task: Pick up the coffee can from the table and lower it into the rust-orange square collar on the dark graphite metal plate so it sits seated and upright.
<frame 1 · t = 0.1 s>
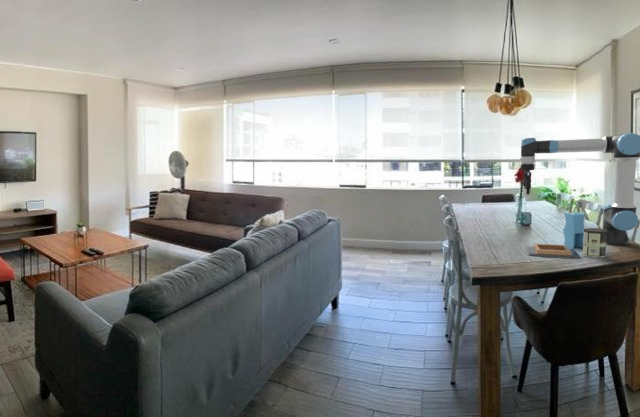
hand: (526, 198, 243), 28 cm above the table, tool pointing down, fingers open, 13 cm apart
coffee can: (593, 255, 214), on the table
open-sided blue scoop: (573, 247, 233), on the table
collar plate: (551, 253, 221), on the table
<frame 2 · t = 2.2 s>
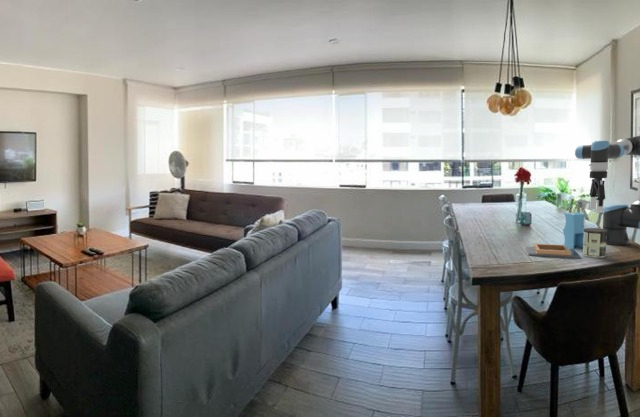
hand: (596, 210, 210), 24 cm above the table, tool pointing down, fingers open, 13 cm apart
nothing on the table moved.
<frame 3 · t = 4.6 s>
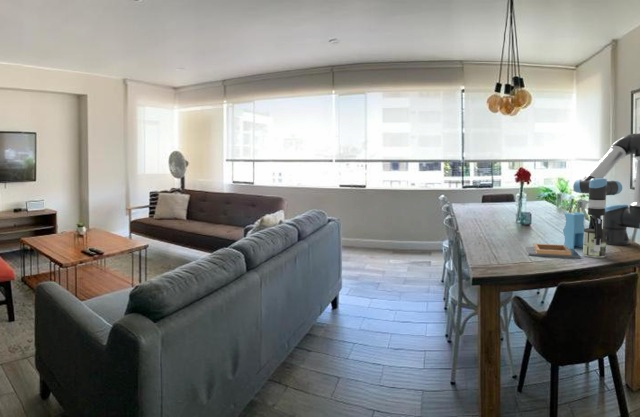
hand: (594, 248, 213), 4 cm above the table, tool pointing down, fingers closed on coffee can, 10 cm apart
coffee can: (593, 255, 214), on the table, touching gripper
everything else where it was.
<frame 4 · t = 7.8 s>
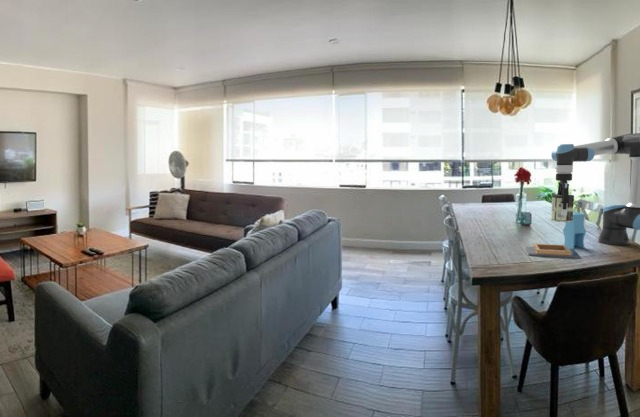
hand: (561, 213, 216), 22 cm above the table, tool pointing down, fingers closed on coffee can, 10 cm apart
coffee can: (561, 221, 217), point 18 cm above the table, touching gripper
everything else where it was.
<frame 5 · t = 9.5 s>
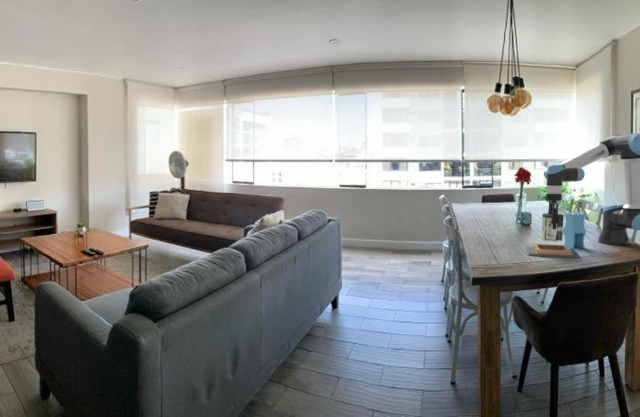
hand: (552, 233, 220), 11 cm above the table, tool pointing down, fingers closed on coffee can, 10 cm apart
coffee can: (551, 240, 220), point 7 cm above the table, touching gripper
everything else where it was.
when the fingers open (7 cm above the table, at t = 11.1 s): coffee can drops 2 cm, resting on collar plate.
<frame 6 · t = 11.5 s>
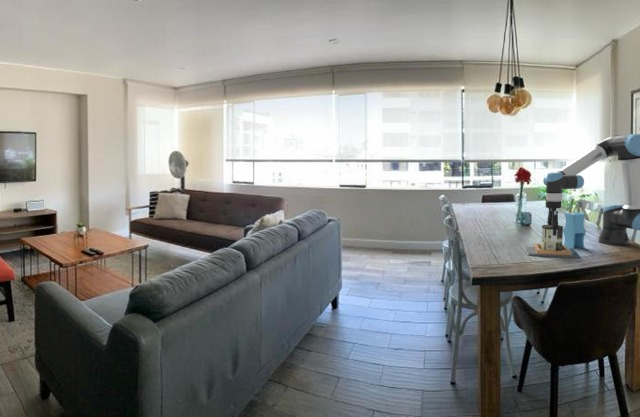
hand: (551, 238, 220), 8 cm above the table, tool pointing down, fingers open, 13 cm apart
coffee can: (551, 251, 221), point 1 cm above the table, touching collar plate
everything else where it was.
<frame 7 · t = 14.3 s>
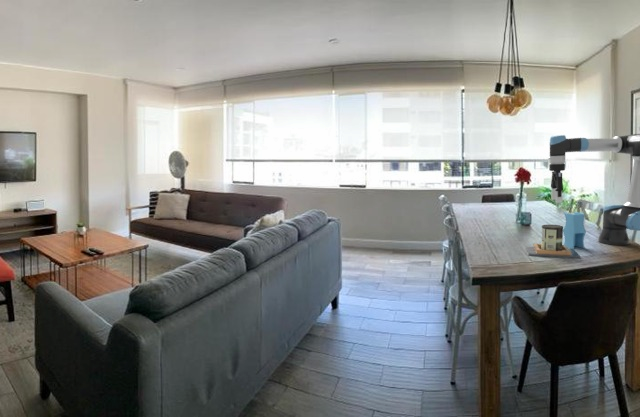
hand: (556, 201, 224), 28 cm above the table, tool pointing down, fingers open, 13 cm apart
nothing on the table moved.
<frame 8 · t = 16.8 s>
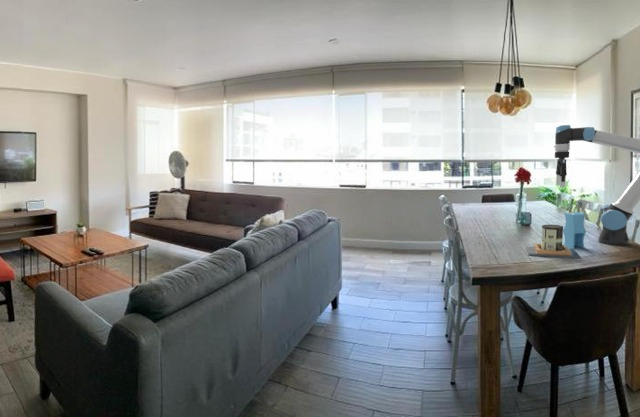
hand: (560, 186, 243), 35 cm above the table, tool pointing down, fingers open, 13 cm apart
nothing on the table moved.
at the end: coffee can 0.3 cm off-centre on the collar plate, point 1.0 cm above the collar plate's base; coffee can tilted 0°; the gripper is holding nothing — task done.
